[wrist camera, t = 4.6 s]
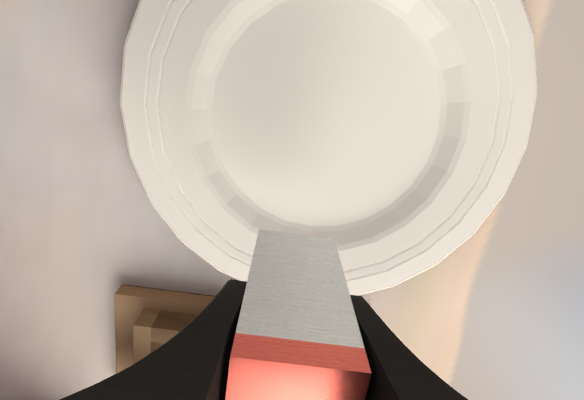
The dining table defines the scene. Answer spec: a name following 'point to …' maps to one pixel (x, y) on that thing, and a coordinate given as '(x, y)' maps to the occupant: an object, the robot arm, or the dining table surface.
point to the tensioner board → (150, 320)
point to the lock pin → (297, 325)
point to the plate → (328, 124)
